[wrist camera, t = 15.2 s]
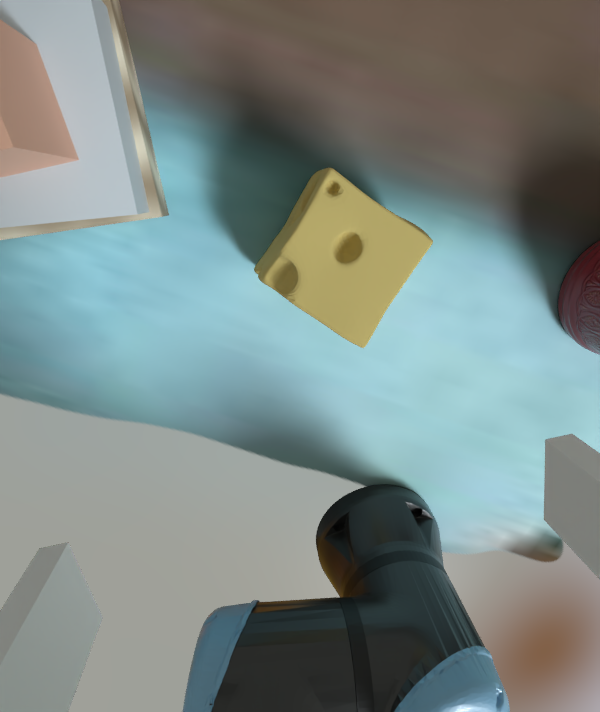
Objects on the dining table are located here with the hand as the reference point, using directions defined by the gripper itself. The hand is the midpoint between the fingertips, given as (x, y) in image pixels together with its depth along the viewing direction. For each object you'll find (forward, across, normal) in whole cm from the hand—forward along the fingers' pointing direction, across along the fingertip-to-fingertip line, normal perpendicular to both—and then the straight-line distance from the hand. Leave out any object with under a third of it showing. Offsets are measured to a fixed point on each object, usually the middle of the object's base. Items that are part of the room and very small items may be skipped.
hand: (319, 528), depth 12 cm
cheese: (+33, -6, -4) cm, 34 cm away
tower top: (+29, +15, -17) cm, 37 cm away
